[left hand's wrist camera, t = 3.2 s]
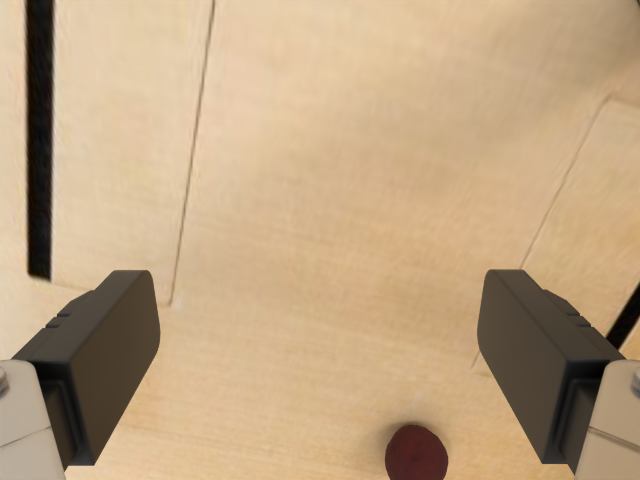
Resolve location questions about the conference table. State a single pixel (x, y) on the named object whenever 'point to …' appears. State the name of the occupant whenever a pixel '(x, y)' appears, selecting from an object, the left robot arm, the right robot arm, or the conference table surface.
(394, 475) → the potato
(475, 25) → the conference table surface
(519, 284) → the left robot arm
